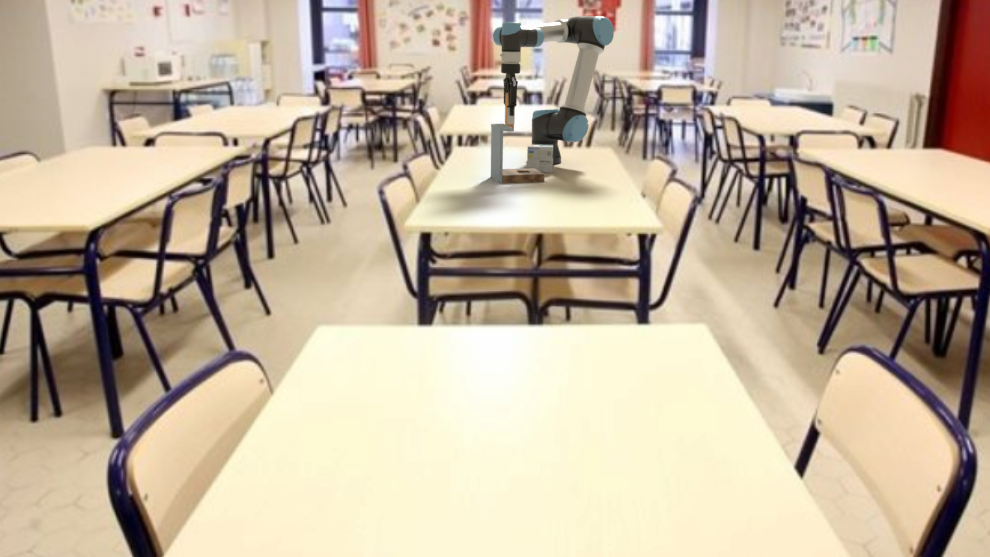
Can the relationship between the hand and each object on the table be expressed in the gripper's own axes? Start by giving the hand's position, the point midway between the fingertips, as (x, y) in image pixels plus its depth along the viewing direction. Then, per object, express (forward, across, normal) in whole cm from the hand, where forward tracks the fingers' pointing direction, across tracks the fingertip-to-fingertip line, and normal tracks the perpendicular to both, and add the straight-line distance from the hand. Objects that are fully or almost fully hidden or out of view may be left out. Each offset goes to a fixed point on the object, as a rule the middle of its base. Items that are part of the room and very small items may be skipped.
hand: (509, 123), depth 333 cm
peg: (+3, 0, 0) cm, 3 cm away
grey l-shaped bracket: (+21, +12, -6) cm, 24 cm away
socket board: (+21, +12, +1) cm, 24 cm away
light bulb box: (+21, -6, +15) cm, 26 cm away
